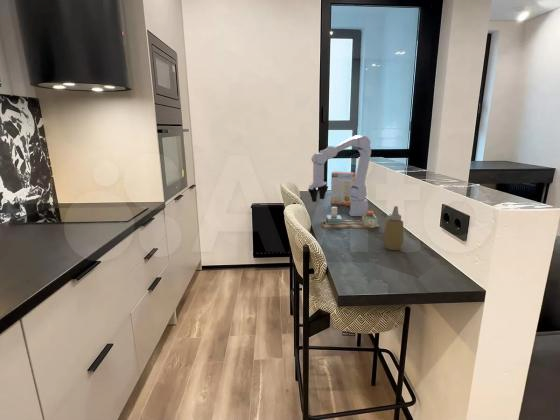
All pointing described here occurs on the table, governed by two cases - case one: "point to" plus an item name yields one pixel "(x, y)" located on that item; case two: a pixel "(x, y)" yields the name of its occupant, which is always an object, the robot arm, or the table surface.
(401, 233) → the squeeze bottle
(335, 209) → the carriage
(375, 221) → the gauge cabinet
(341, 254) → the table surface
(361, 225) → the rail track
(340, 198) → the cracker box
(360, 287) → the table surface
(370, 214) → the button
